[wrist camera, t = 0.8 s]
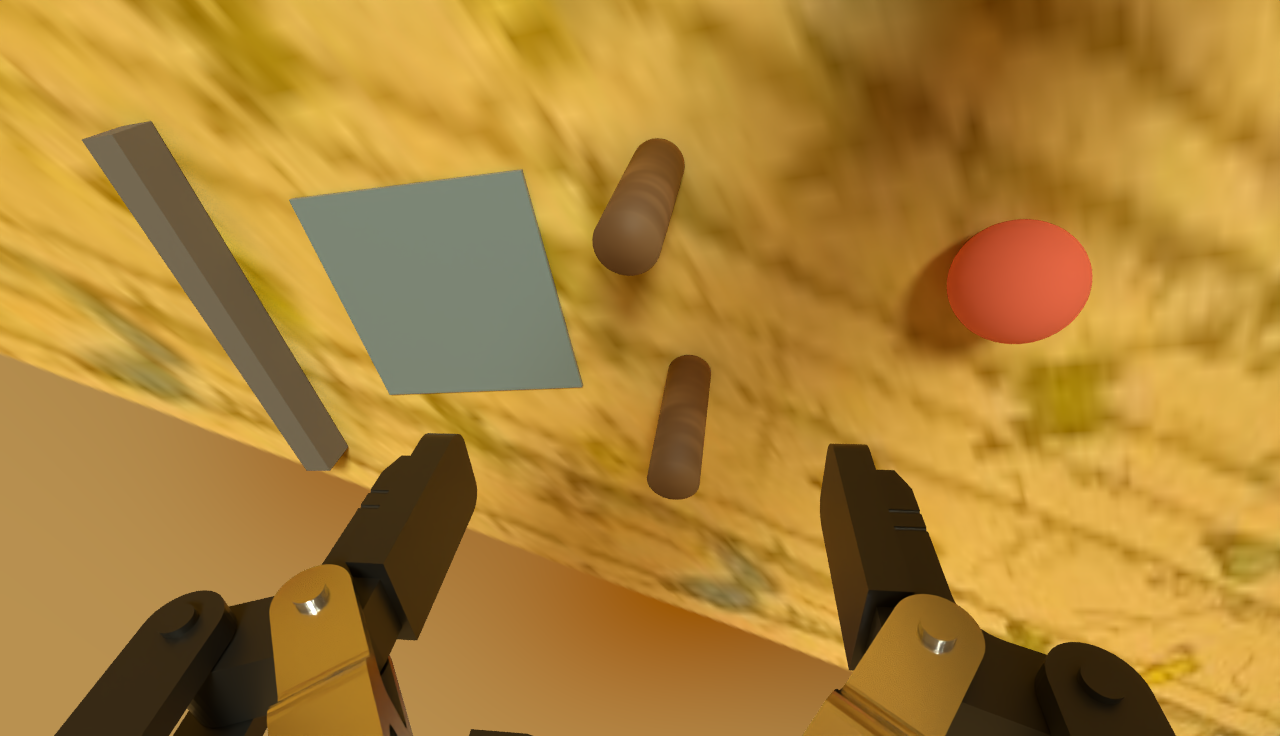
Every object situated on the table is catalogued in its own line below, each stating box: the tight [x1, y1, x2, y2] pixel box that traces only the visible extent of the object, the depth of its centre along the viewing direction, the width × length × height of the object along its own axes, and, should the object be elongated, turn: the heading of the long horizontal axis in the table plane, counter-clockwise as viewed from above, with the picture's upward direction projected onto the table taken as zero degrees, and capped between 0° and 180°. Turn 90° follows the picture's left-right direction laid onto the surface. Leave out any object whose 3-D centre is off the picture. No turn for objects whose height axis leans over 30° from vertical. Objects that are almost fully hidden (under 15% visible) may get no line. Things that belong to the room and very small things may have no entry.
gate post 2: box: [647, 355, 711, 499], centre depth 33 cm, size 3×3×9 cm
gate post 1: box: [593, 138, 685, 276], centre depth 26 cm, size 3×3×9 cm
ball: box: [947, 219, 1092, 344], centre depth 28 cm, size 6×6×6 cm
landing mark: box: [289, 169, 583, 395], centre depth 36 cm, size 14×14×1 cm
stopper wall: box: [82, 121, 348, 471], centre depth 39 cm, size 2×24×2 cm, turn 10°
